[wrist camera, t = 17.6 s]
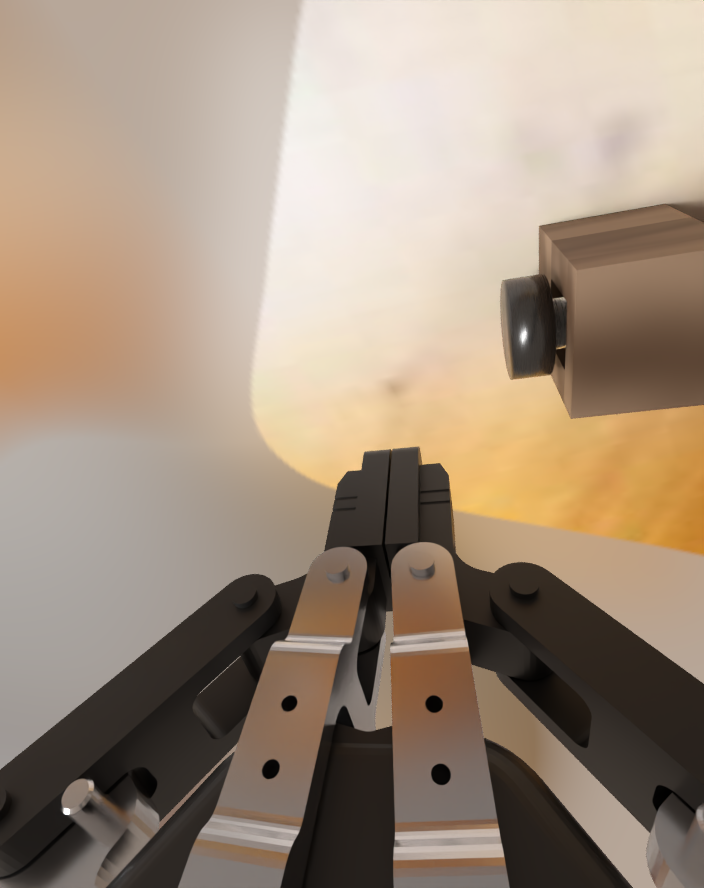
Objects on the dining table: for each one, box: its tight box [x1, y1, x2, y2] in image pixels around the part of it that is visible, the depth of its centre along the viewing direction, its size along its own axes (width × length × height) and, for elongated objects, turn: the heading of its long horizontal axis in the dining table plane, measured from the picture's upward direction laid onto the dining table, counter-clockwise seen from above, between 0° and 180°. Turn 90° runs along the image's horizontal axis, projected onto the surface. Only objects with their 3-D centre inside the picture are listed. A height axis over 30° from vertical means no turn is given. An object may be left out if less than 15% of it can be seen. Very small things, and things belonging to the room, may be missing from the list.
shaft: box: [500, 274, 567, 380], centre depth 20 cm, size 4×10×4 cm, turn 101°
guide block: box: [539, 204, 704, 419], centre depth 21 cm, size 6×5×7 cm
